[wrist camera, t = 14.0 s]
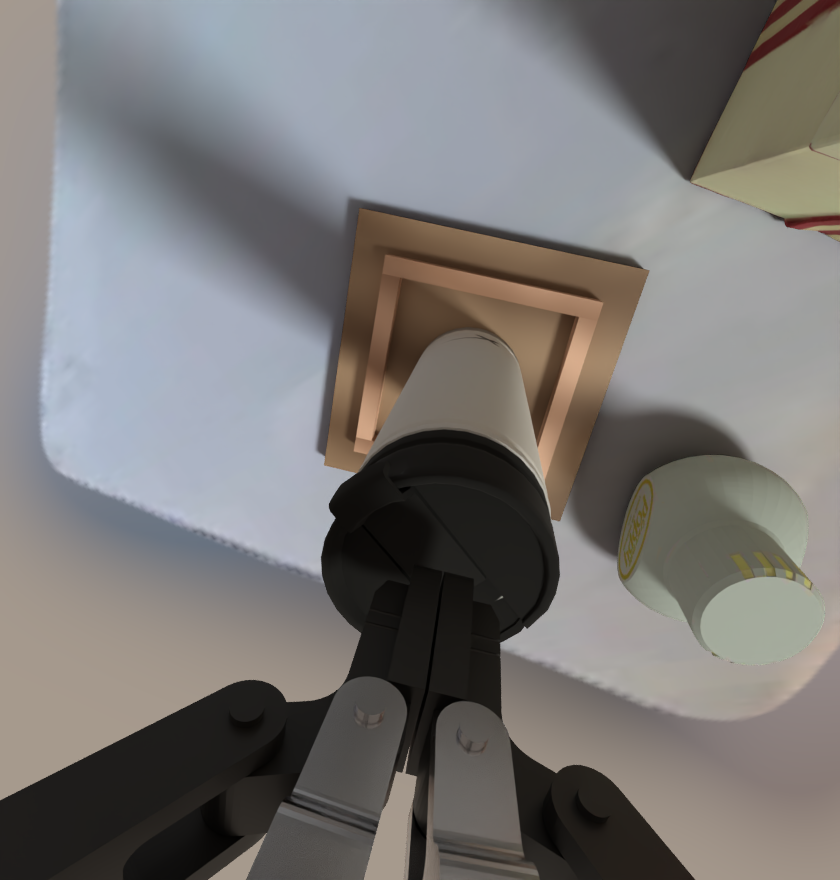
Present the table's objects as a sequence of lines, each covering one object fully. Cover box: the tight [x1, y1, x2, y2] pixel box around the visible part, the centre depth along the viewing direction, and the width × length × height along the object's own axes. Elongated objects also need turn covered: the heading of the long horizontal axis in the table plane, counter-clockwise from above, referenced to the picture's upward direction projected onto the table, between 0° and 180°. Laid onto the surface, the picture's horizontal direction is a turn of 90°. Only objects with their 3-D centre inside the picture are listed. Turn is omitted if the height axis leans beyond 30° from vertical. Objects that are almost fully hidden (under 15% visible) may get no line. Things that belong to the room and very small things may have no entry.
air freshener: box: [617, 455, 825, 665], centre depth 29 cm, size 11×8×10 cm
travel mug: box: [321, 327, 560, 642], centre depth 22 cm, size 6×7×20 cm
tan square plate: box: [324, 208, 649, 521], centre depth 31 cm, size 16×16×2 cm
